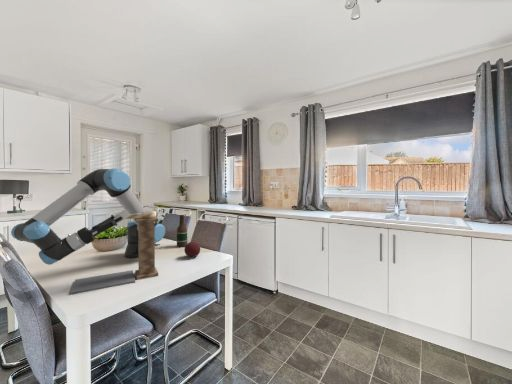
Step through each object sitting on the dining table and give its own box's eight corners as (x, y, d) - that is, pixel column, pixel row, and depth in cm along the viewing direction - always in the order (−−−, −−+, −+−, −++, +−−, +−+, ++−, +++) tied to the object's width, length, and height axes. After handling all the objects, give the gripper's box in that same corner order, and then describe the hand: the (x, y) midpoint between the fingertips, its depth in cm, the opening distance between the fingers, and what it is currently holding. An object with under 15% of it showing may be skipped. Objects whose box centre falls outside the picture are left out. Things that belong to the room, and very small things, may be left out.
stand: (136, 279, 118) (136, 220, 117) (135, 273, 127) (134, 217, 126) (158, 275, 124) (158, 218, 122) (155, 269, 132) (155, 216, 131)
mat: (70, 294, 102) (70, 292, 102) (75, 281, 116) (75, 279, 116) (135, 282, 115) (135, 280, 115) (132, 271, 129) (132, 270, 129)
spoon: (115, 221, 114) (114, 215, 113) (114, 219, 120) (114, 213, 119) (157, 218, 123) (157, 212, 123) (155, 216, 129) (155, 211, 129)
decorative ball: (202, 255, 159) (202, 240, 158) (195, 260, 149) (195, 244, 149) (189, 254, 161) (189, 239, 161) (181, 258, 151) (181, 243, 151)
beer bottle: (178, 245, 184) (177, 214, 183) (188, 244, 184) (188, 214, 183) (175, 247, 176) (175, 215, 175) (186, 247, 177) (186, 215, 176)
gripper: (72, 236, 99) (124, 208, 109) (79, 227, 118) (122, 203, 128) (84, 250, 101) (134, 221, 111) (88, 239, 121) (130, 215, 130)
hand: (128, 212), depth 119 cm, fingers open, 10 cm apart
